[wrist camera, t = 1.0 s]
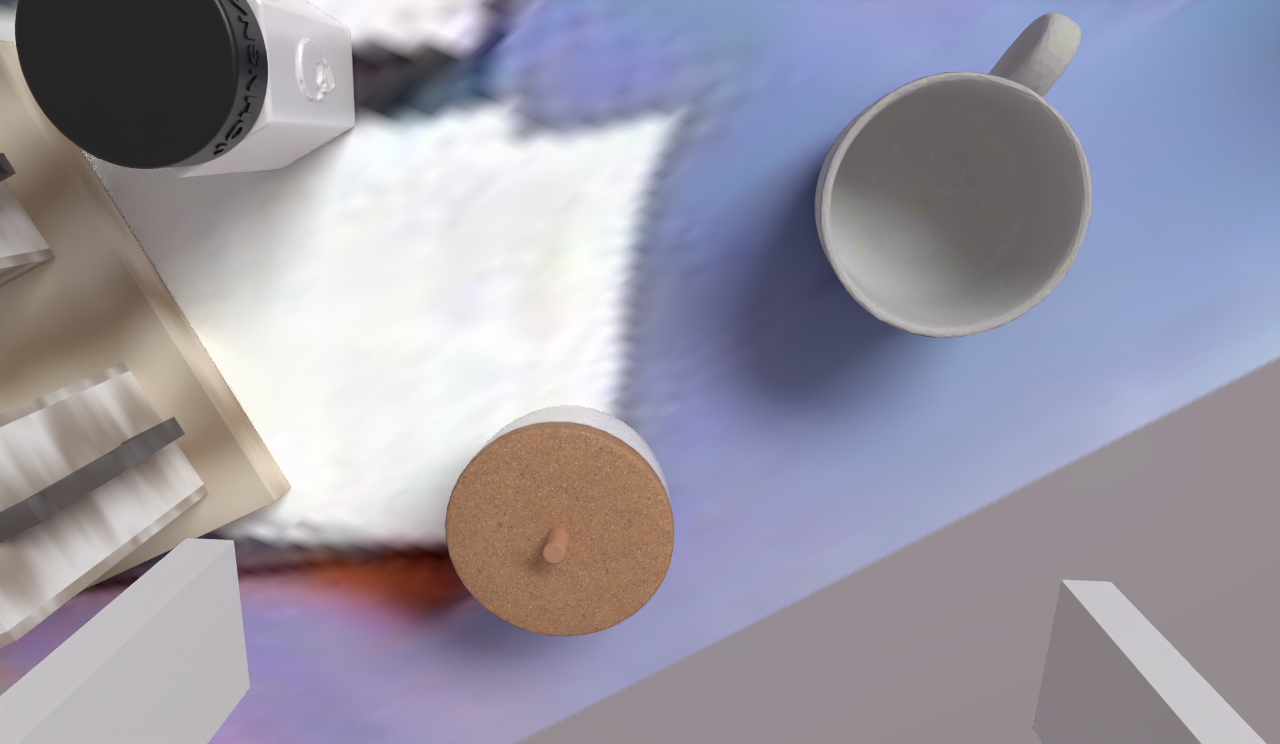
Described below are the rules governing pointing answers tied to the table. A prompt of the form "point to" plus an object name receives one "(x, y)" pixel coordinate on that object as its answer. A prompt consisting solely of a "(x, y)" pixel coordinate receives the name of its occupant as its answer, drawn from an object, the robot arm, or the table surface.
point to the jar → (189, 80)
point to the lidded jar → (562, 522)
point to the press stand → (98, 386)
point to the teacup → (960, 193)
